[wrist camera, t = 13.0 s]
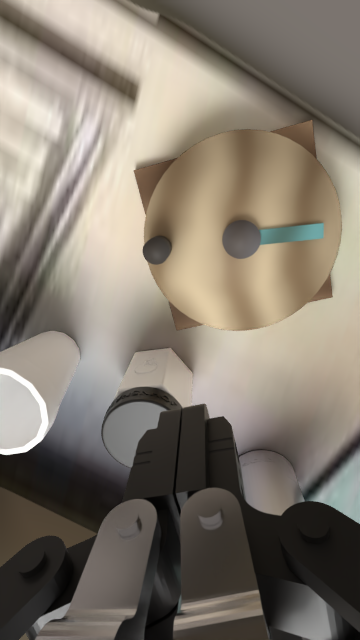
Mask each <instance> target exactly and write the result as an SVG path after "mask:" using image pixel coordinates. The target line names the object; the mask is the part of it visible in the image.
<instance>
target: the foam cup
mask: <svg viewBox="0 0 360 640" xmlns="http://www.w3.org/2000/svg"><path fill="white" fill-rule="evenodd" d="M79 361H80V352H79V348H78V346H77V345H76V343H75V341H74V340H73V339H72V338H70V337H69V336H68V335H66V334H65V333H62V332H58V331H48V332H43V333H41V334H38V335H36V336H34V337H32V338H30V339H28V340H25V341H23V342H21V343H19V344H17V345H15V346H12V347H10V348H8V349H6V350H4V351H2V352H0V454H5V455H9V454H15V453H21V452H27V451H28V450H30V449H31V448H32V447H34V446H35V445H36V444H38V443H39V442H40V441H42V439H43V438H44V437H45V435H46V434H47V432H48V431H49V429H50V428H51V426H52V425H53V422H54V420H55V417H56V415H57V412H58V410H59V405H60V403H61V401H62V399H63V397H64V395H65V392H66V390H67V388H68V386H69V384H70V382H71V380H72V377H73V375H74V373H75V371H76V369H77V366H78V364H79Z"/></svg>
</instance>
